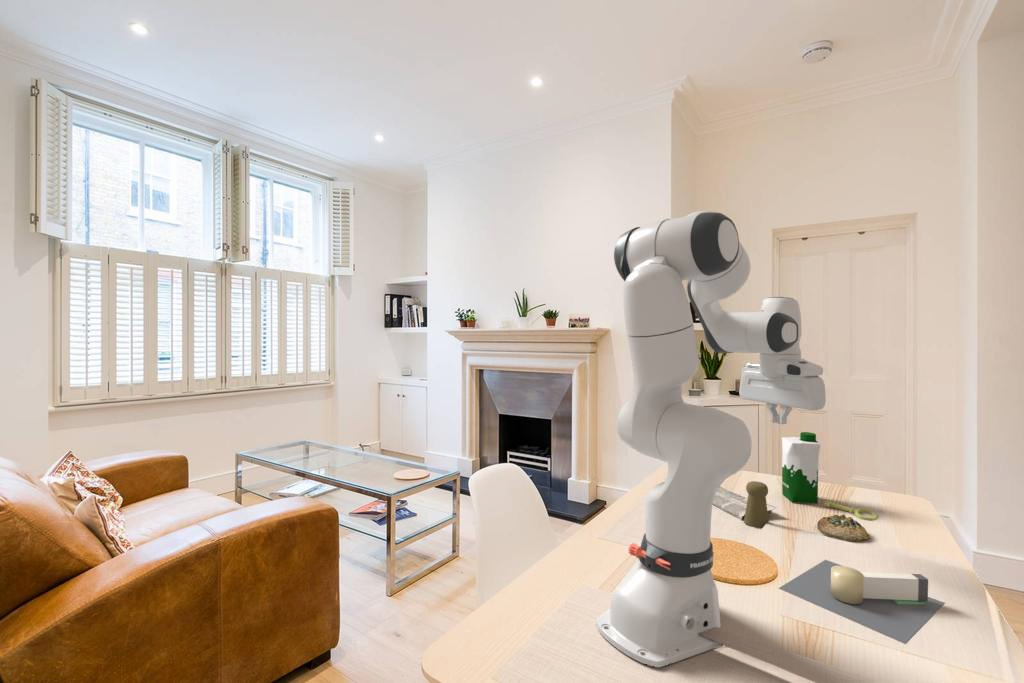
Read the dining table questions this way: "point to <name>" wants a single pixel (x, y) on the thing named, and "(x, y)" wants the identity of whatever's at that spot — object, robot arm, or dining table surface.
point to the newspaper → (733, 502)
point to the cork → (756, 505)
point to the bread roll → (842, 528)
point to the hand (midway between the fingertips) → (778, 423)
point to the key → (853, 510)
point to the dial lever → (876, 585)
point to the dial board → (864, 605)
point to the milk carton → (800, 468)
